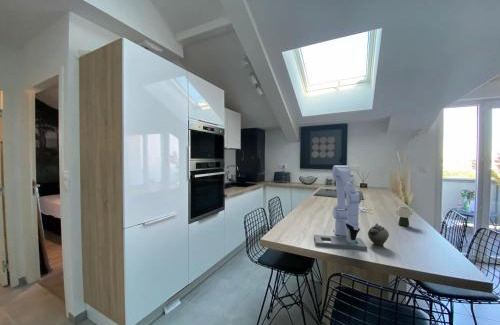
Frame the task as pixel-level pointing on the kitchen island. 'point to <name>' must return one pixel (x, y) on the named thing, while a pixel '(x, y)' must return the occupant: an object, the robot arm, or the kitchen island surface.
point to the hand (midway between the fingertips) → (352, 238)
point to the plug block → (349, 237)
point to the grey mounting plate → (338, 242)
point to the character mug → (404, 215)
